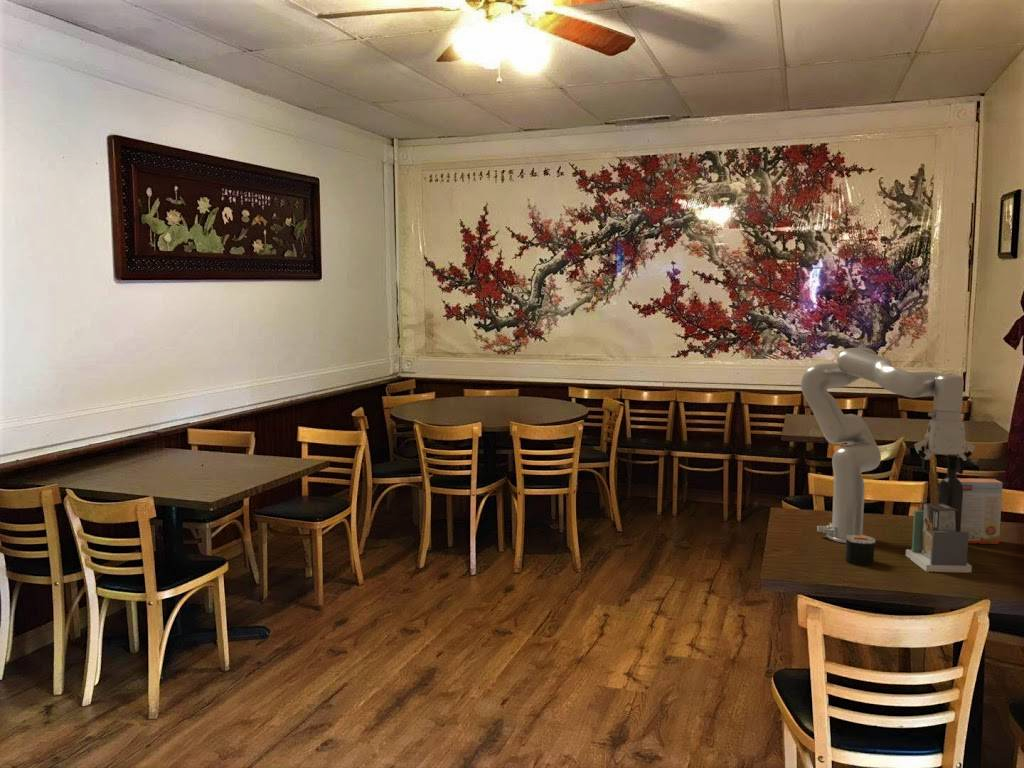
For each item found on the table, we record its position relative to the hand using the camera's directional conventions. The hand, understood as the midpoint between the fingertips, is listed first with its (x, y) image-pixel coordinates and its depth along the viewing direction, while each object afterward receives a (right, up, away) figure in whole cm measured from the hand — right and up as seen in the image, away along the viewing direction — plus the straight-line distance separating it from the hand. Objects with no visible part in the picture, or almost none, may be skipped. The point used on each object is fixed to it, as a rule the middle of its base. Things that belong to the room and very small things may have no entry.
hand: (942, 472), depth 253 cm
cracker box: (+24, -26, +26) cm, 44 cm away
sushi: (-23, -28, +5) cm, 36 cm away
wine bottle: (+12, -26, +21) cm, 36 cm away
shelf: (0, -28, +3) cm, 28 cm away
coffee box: (0, -26, +2) cm, 27 cm away
